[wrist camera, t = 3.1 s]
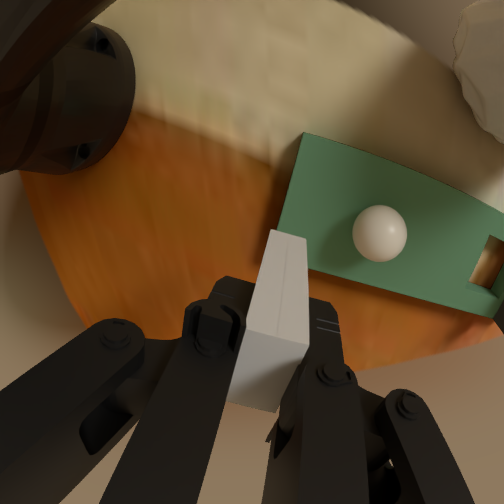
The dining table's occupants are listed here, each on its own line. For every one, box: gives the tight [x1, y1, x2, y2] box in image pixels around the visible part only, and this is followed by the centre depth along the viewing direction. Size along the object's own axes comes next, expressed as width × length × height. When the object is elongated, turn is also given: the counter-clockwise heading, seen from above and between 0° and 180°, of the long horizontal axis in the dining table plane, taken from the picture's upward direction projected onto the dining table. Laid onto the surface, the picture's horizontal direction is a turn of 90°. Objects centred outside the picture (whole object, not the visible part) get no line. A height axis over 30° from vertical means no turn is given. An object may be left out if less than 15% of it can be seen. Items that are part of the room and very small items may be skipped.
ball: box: [352, 205, 407, 262], centre depth 20 cm, size 4×4×4 cm
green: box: [276, 132, 504, 334], centre depth 18 cm, size 28×10×12 cm, turn 77°
